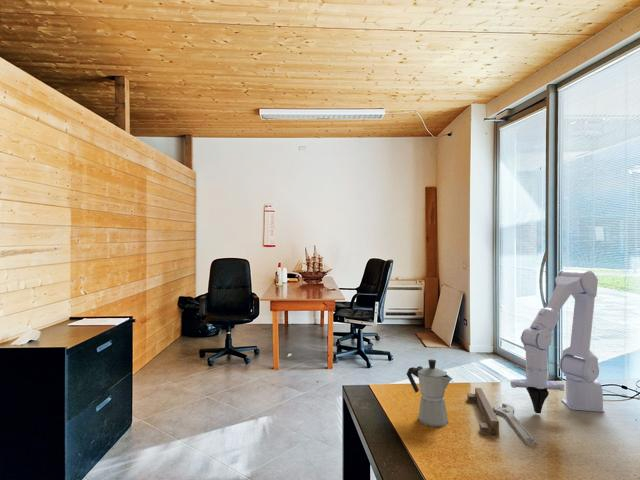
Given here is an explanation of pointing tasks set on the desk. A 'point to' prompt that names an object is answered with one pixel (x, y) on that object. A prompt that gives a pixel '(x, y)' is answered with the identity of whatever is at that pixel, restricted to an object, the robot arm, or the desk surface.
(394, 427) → the desk surface
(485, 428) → the walnut bar
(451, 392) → the desk surface
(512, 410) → the adjustable wrench
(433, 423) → the coffee maker
